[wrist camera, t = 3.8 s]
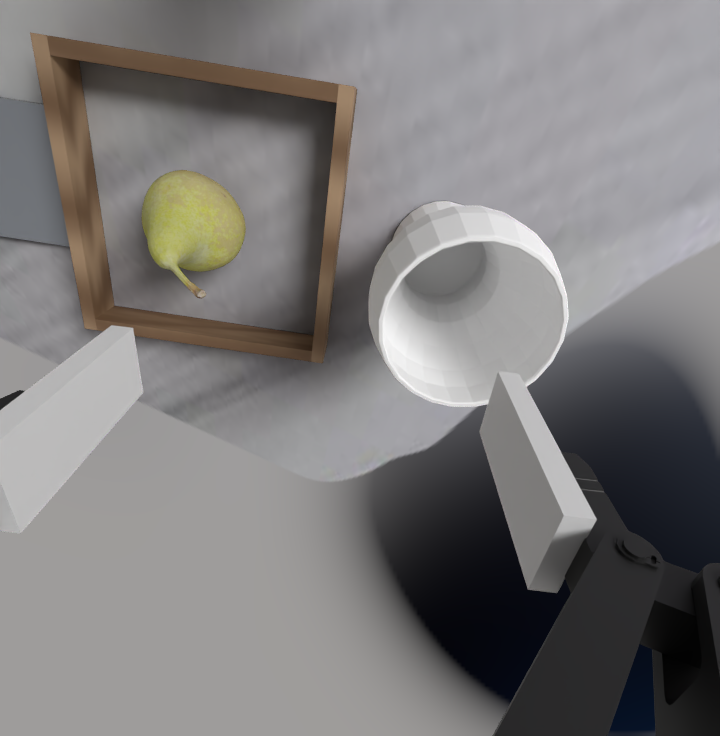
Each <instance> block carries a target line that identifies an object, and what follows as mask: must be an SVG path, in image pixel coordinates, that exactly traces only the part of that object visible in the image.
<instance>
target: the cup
mask: <svg viewBox="0 0 720 736" xmlns="http://www.w3.org/2000/svg"><path fill="white" fill-rule="evenodd" d="M368 304H369V326H370V329H371V332H372V335H373V339H374V342H375V345H376V347H377V349H378V351H379V353H380V354H381V356H382V358H383V360H384V362H385V363H386V365H387V366H388V368H389V369H390V371H391V373H392V374H393V376H394V377H395V379H397V380H398V381H399V382H400V383H401V384H402V385H403V386H405V387H406V388H407V389H408V390H409V391H410V392H412V393H414V394H416V395H418V396H420V397H422V398H424V399H426V400H428V401H430V402H433V403H438V404H442V405H446V406H451V407H476V406H481V405H486V404H488V402H489V399H490V396H491V393H492V389H493V386H494V383H495V380H496V376H497V373H498V371H501V372H509V373H518V374H520V376H521V378H522V380H523V382H524V384H525V386H526V387H527V386H528V385H529V384H531V383H532V382H534V381H535V380H536V379H537V378H538V377H539V376H540V375H541V374H542V373H543V372H544V371H545V369H546V368H547V367H548V366H549V365H550V364H551V363H552V361H553V360H554V358H555V356H556V354H557V352H558V350H559V348H560V346H561V344H562V342H563V340H564V336H565V332H566V327H567V323H568V318H569V317H568V303H567V294H566V290H565V287H564V284H563V280H562V277H561V274H560V271H559V269H558V266H557V264H556V261H555V259H554V257H553V254H552V252H551V251H550V250H549V248H548V247H547V246H546V245H545V244H544V243H543V241H542V240H541V239H540V238H539V237H538V235H537V234H536V233H535V232H533V231H532V230H531V229H529V228H528V227H526V226H525V225H524V224H522V223H520V222H519V221H517V220H516V219H514V218H512V217H511V216H509V215H508V214H506V213H504V212H501V211H497V210H494V209H490V208H486V207H483V206H463V205H460V204H457V203H453V202H449V201H443V202H432V203H429V204H426V205H422V206H421V207H419V208H417V209H416V210H414V211H412V212H411V213H410V214H409V215H408V216H407V217H406V218H405V219H404V220H403V221H402V222H401V223H400V225H399V226H398V228H397V230H396V232H395V233H394V236H393V240H392V241H391V242H390V243H389V244H388V245H387V247H386V249H385V250H384V252H383V254H382V256H381V257H380V259H379V261H378V263H377V264H376V266H375V270H374V273H373V277H372V281H371V285H370V289H369V300H368Z"/></svg>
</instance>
